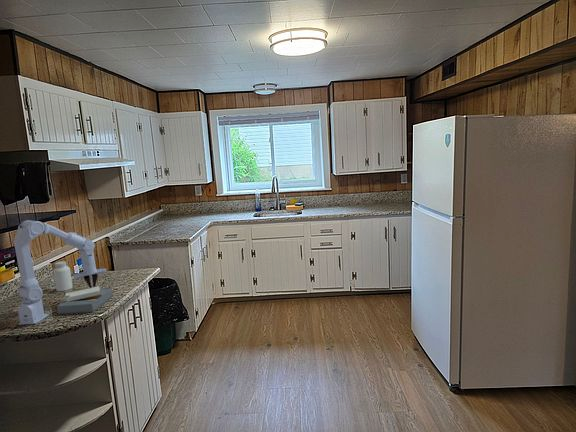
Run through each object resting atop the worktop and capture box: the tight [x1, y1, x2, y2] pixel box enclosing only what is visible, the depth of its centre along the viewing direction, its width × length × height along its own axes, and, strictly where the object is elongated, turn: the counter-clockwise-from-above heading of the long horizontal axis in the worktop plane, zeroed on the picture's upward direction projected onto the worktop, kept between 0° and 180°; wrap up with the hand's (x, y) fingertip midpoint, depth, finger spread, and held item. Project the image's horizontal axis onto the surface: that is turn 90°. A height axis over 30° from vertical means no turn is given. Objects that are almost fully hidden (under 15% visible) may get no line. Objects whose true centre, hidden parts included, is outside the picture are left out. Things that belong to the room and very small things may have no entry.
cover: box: [65, 285, 101, 302], centre depth 187 cm, size 8×14×2 cm, turn 120°
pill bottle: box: [52, 261, 73, 292], centre depth 211 cm, size 8×8×15 cm
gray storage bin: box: [56, 288, 114, 315], centre depth 186 cm, size 20×16×4 cm
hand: (92, 289), depth 193 cm, fingers closed, pressing on cover
